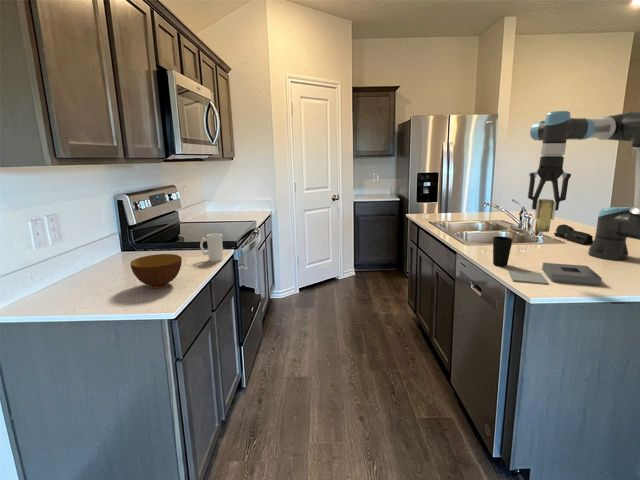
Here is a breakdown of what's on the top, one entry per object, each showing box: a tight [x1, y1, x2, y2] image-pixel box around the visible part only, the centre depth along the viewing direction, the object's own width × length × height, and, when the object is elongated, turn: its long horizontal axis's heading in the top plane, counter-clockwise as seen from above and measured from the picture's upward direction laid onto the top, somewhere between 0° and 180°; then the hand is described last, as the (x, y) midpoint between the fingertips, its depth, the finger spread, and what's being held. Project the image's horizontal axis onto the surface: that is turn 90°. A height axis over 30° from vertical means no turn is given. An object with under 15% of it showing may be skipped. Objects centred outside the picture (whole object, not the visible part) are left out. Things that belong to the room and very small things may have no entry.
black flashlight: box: [553, 223, 595, 246], centre depth 212 cm, size 7×25×8 cm, turn 11°
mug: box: [199, 232, 224, 263], centre depth 178 cm, size 10×7×12 cm, turn 98°
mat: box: [508, 270, 549, 285], centre depth 152 cm, size 12×12×1 cm
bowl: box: [129, 253, 183, 289], centre depth 145 cm, size 18×18×10 cm
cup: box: [492, 235, 514, 268], centre depth 168 cm, size 8×8×12 cm
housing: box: [541, 262, 603, 286], centre depth 152 cm, size 16×16×3 cm
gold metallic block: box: [534, 198, 555, 233], centre depth 146 cm, size 5×5×12 cm
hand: (543, 218), depth 147 cm, fingers closed on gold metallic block, 5 cm apart
